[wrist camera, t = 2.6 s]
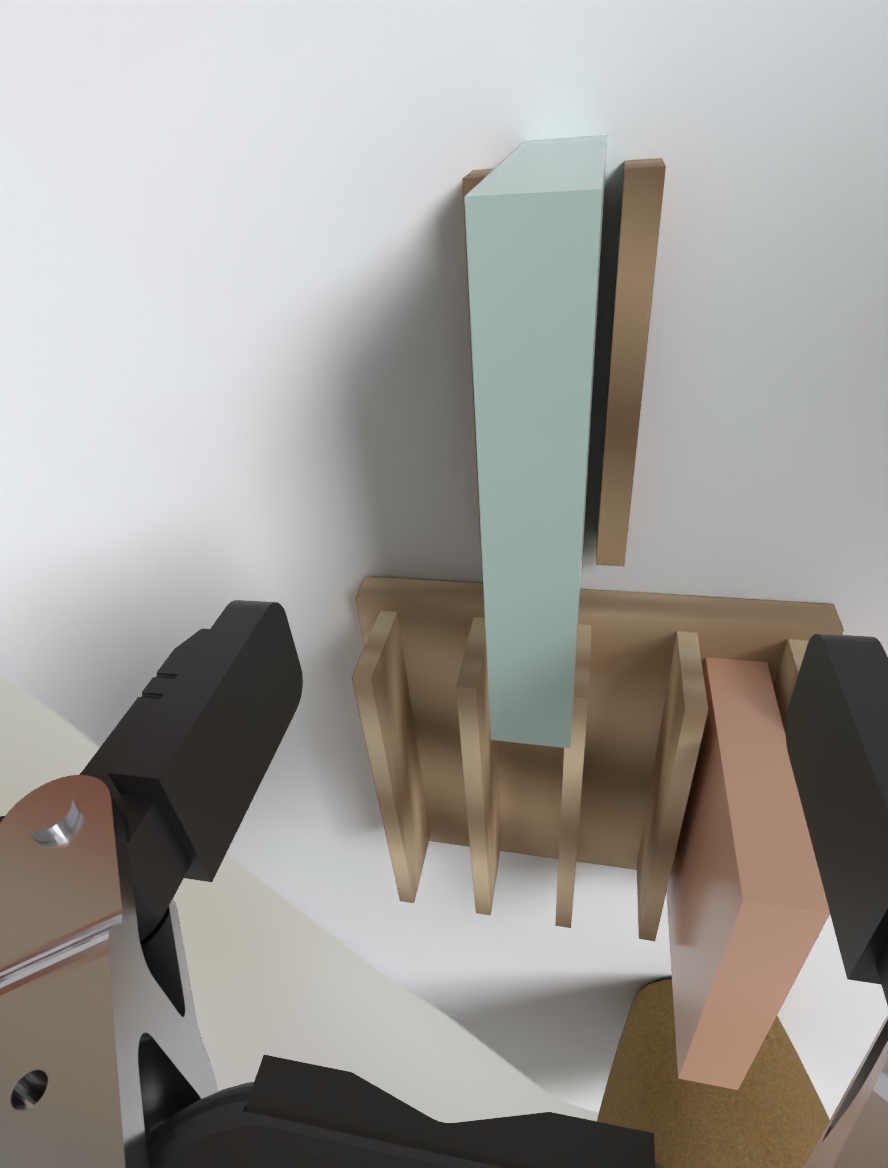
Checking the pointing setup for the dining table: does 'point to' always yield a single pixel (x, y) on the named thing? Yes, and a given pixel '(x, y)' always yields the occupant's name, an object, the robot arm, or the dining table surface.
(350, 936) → the dining table surface
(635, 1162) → the robot arm
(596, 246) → the green plate
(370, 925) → the dining table surface
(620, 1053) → the plant pot
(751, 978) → the pink rectangular slab
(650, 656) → the rack
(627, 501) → the stand rails
